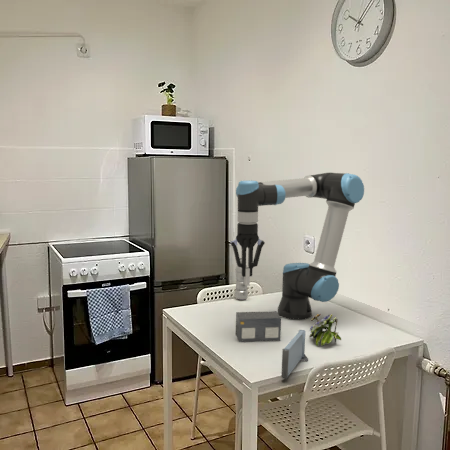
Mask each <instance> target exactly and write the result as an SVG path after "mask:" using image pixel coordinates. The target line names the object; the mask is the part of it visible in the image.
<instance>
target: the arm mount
mask: <svg viewBox="0 0 450 450" xmlns="http://www.w3.org/2000/svg"><path fill="white" fill-rule="evenodd" d="M299 362H309V358H308V356H306V354H305V353H304V357H302V358H301V359H300V361H299ZM299 362H298V363H299Z"/></svg>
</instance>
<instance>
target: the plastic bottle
mask: <svg viewBox="0 0 450 450" xmlns="http://www.w3.org/2000/svg"><path fill="white" fill-rule="evenodd" d="M239 258H240V262H241V263H242V257H239ZM246 267H248V264H246ZM234 272H235V290H234V297H235V299H236V300H241V301H242V300H246V299H248V296H249V292H248V291H249V290H248V286H245V284H244V277H243V276H242V268H241V267H238V265H237V264H236V267H235V271H234Z"/></svg>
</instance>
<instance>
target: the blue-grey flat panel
mask: <svg viewBox="0 0 450 450" xmlns="http://www.w3.org/2000/svg"><path fill="white" fill-rule="evenodd" d="M297 331H298V332H297V333H296V335H295V336H294V337H293V338H292V339H291V340H290V341H289V342H288V344H287V345H286V346H285V347H284V348H282V351H281V353H282V354H281V378H282V379H288V378H289V376H290V374H291V373H292V371H293V370H294V369H295V368H296V366H297V365H298V363H299V361H300V359H301V358H302V357H304V354H305V352H306V351H305V350H306V349H305V348H306V347H305V346H306V332H307V331H306V330H305V329H299V330H297Z"/></svg>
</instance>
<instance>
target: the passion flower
mask: <svg viewBox="0 0 450 450" xmlns="http://www.w3.org/2000/svg"><path fill="white" fill-rule="evenodd" d="M321 315H322V314H321V313H318V314H316V315H313V317H312V318H311V319H310V322H314V321H315V320H316V322H315V323H314V324H313V325H312V326H310V328H309V332H310V335H308V337H309V338H313V339H315V345H316V346H317V347H319V345H321V347H322V346H324V345H328V344H330V343H332V341H333V340H334V342H335V344H337V340H338V341H339V340H340V341H342V337H341V336H340V334H339V332H336V330H337V327H338V326H337V325H338V318H337V317H336V316H335V317H334V318H333V314H332V313H331V314H328V315H326V316H324V317H323V318H321V319H318V317H321ZM331 319H332V320H331ZM333 324H335V325H334V326H335V327H334V331H332V327H333Z"/></svg>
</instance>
